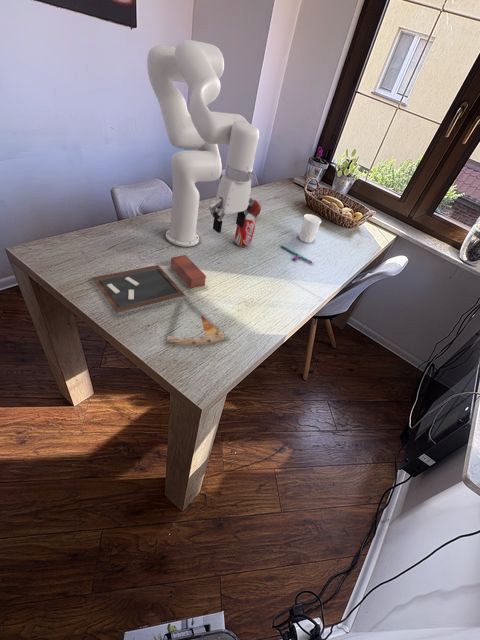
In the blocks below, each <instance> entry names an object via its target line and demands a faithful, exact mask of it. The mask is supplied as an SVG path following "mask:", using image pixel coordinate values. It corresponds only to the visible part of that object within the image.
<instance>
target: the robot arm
mask: <svg viewBox="0 0 480 640" xmlns="http://www.w3.org/2000/svg"><path fill="white" fill-rule="evenodd" d="M146 67H147V75H148V79H149V82H150V86H151V88H152V90H153V93H154V95H155V97H156V99H157V102H158V104H159V107H160V110H161V115H162V118H163V122H164V126H165V131H166V134H167V137H168V140H169V142H170V144H171V146H173V147H174V148H177V149H185V150H179V151H177V152H175V153H174V154H173V155H172V157H171V159H170V167H171V176H172V177H171V178H172V193H171V194H172V195H171V209H170V210H171V212H170V219H169V220H168V221H167V223H168V224H169V229H168V230H167V231H165V238H166V240H167V241H168V242H169V243H171V244H172V245H175V246H179V247H185V248H187V247H188V248H189V247H195V246H196V245H198V243H200V237H199V235H198V233H197V223H198V216H199V206H200V192H199V190H198V187H197V186H196V183H200V182H215V181H218V180H219V179H220V181H219V184H218V187H217V192H216V197H215V201H214V202H212V203H211V204H209V206H208V207H209V212H210V215H212V217H213V224H212V229H213V230H214V231H215V232H216V233H218V234H221V232H222V227H223V218H224V217H225V215H230V214H236V213H237V215H236V220H235V224H236V226H237V225H238V226H240V227H241V228H243V227H244V223H245V218H246V216H247V215H248V212H249V210H250V209H251V206H252V205H253V203H254V200H255V199H253V198H252V197H251V191H252V190H251V189H252V179H251V178H252V173H253V172H254V163H255V158H256V154H257V148H258V144H259V140H260V131H259V128H258V127H257V126H256V125H253V124H251V123H250V122H249V121H248V120H247V119H246V118H245V116H243V115H242V114H239V113H232V112H231V113H230V112H220V111H211V109H209V107H208V105H210V104H212V103H213V102H214V101H215V100H216V99H217V98H218V96H219V95H220V92H221V89H222V87H221V86H222V84H221V81H220V79H221V77H222V76H223V74H224V70H225V59H224V55H223V52H222V51H221V50H220V48H219V47H218V46H216V45H215V44H212V43H208V42H204V41H203V42H202V41H198V40H194V39H184V40H182V41H180V42H178V44H177V45H176V46H172V45H162V44H161V45H160V44H159V45H155V46H152V47H151V48H150V49H149V51H148V53H147V58H146ZM174 82H179V83H186V84H187V86H188V88H189V91H190V92H191V96H190V100H189V109H188V104H187V101H186V98H185V97H184V95H183V93H182V92H181V90H180V89H179V88H178V87H177V86H176V85H175V84H174ZM219 145H228V150H227V156H226V161H225V162H226V163H225V168H224V175H222V174H223V173H222V172H223V165H222V158H221V155H220V150H219ZM186 149H187V150H186ZM188 149H189V150H188ZM221 175H222V176H221Z"/></svg>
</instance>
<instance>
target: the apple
mask: <svg viewBox="0 0 480 640" xmlns="http://www.w3.org/2000/svg"><path fill="white" fill-rule="evenodd" d="M253 200H254V203H253V205H252V206H251V209H250V210H249V212H248V213H250V214H252V215H254V216H255V218H257V217H258V216H259V215H260V213H261V211H262V206H261V204H260V203H259V202H258V200H256V199H253Z"/></svg>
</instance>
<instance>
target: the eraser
mask: <svg viewBox="0 0 480 640" xmlns="http://www.w3.org/2000/svg"><path fill="white" fill-rule="evenodd" d="M170 269H171V270H172V271H173V272H174V273H175V274H176V275H177V277H179V278H180V280H181V281H182V282H183V283H184V284H185V285H186V286H187V287H188V289H190V290H192V289H196V288H200V287H204V286H205V284H206V280H207V279H206V278H207V275H206V274H205V273H204V272H203V271H202V270H201V269H200V268H199V267H198V266H197V264H195V263H194V262H193V261H192V259H190V257H188V256H187V255H186V254H184V255H177V256H171V257H170Z"/></svg>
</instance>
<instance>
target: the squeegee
mask: <svg viewBox="0 0 480 640" xmlns="http://www.w3.org/2000/svg"><path fill="white" fill-rule="evenodd" d="M281 248H283V249H284V250H286V251H289V252H290V253H292V254H294V255H295V257H293V258H292V260H293V261H295V260H298V259H299V258H301V259H303V260H305V261H306V262H308V263H310V264H313V261H312V260H311V259H309V258H306V257H305V256H303V255H302V254H299V253H298V252H296V251H295V250H292V249H291V248H289V247H287V246H285V245H283V244H282V245H281Z"/></svg>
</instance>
